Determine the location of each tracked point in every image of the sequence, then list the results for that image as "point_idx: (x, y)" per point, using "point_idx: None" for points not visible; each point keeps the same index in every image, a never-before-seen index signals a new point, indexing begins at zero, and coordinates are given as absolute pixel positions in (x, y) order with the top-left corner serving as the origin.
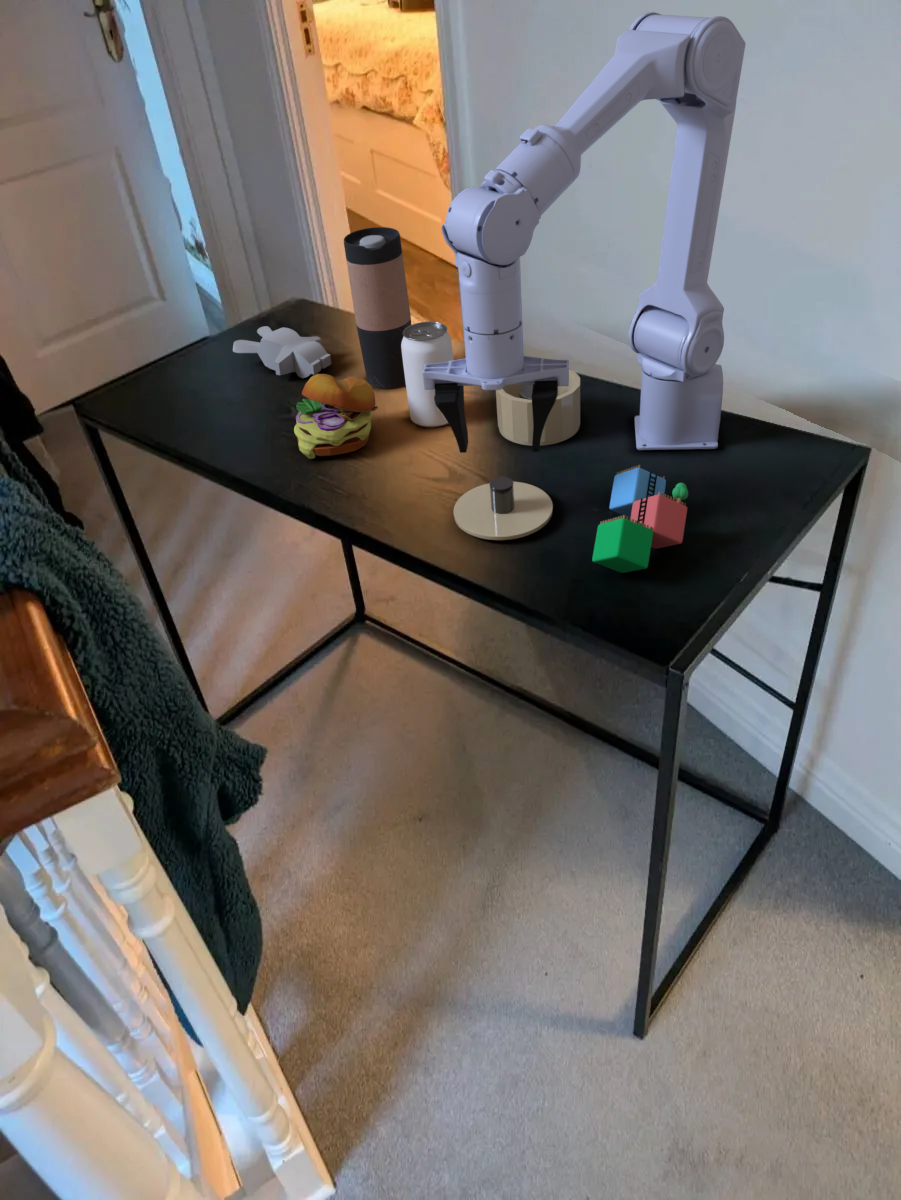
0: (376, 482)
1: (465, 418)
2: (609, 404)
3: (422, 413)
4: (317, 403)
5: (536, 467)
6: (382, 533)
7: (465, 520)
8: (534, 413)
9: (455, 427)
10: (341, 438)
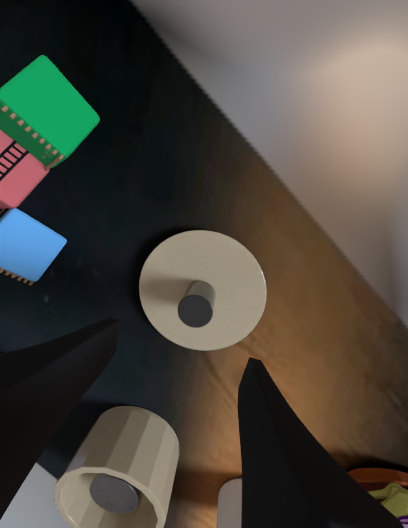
0: (343, 402)
1: (241, 447)
2: (61, 450)
3: None
4: None
5: (149, 370)
6: (363, 296)
7: (253, 280)
8: (33, 369)
9: (284, 410)
10: (392, 494)
